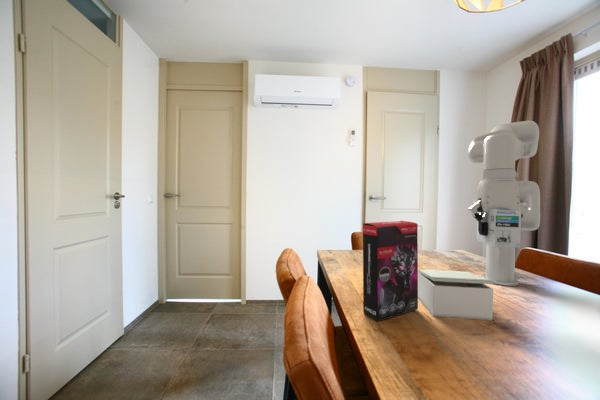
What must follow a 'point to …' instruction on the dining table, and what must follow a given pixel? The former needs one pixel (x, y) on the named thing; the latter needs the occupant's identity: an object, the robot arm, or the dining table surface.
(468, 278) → the lid
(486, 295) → the carton
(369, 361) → the dining table surface
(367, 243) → the graphics card box
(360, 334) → the dining table surface
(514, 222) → the light bulb box
